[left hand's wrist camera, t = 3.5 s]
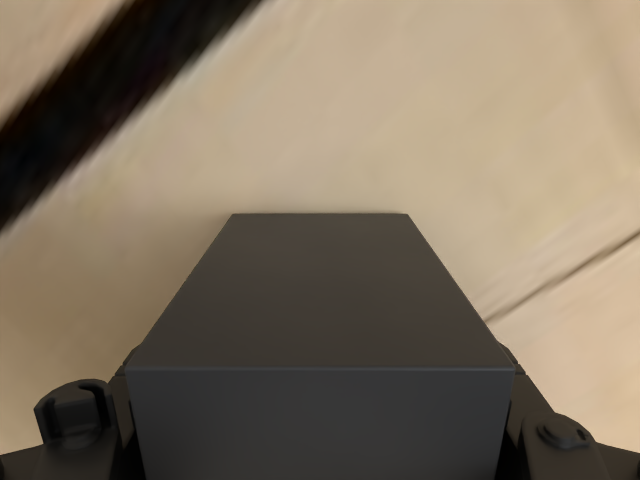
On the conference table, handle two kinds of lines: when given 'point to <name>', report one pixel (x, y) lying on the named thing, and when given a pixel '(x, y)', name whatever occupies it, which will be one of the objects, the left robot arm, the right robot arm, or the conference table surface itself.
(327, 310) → the bar
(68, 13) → the conference table surface
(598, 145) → the conference table surface
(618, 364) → the conference table surface
